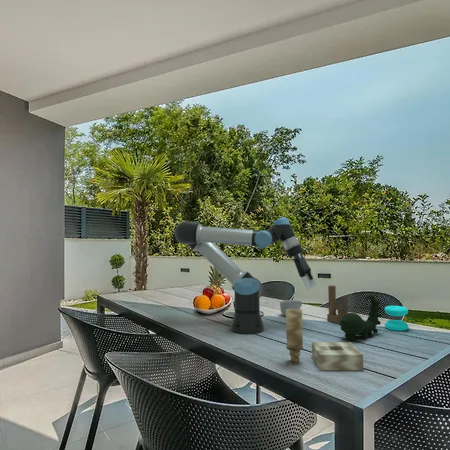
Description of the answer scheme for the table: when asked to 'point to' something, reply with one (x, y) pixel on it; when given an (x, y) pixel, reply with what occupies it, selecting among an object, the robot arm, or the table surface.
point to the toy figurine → (362, 321)
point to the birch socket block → (337, 356)
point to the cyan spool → (396, 324)
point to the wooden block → (336, 306)
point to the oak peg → (294, 333)
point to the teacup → (289, 305)
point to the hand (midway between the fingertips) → (312, 287)
